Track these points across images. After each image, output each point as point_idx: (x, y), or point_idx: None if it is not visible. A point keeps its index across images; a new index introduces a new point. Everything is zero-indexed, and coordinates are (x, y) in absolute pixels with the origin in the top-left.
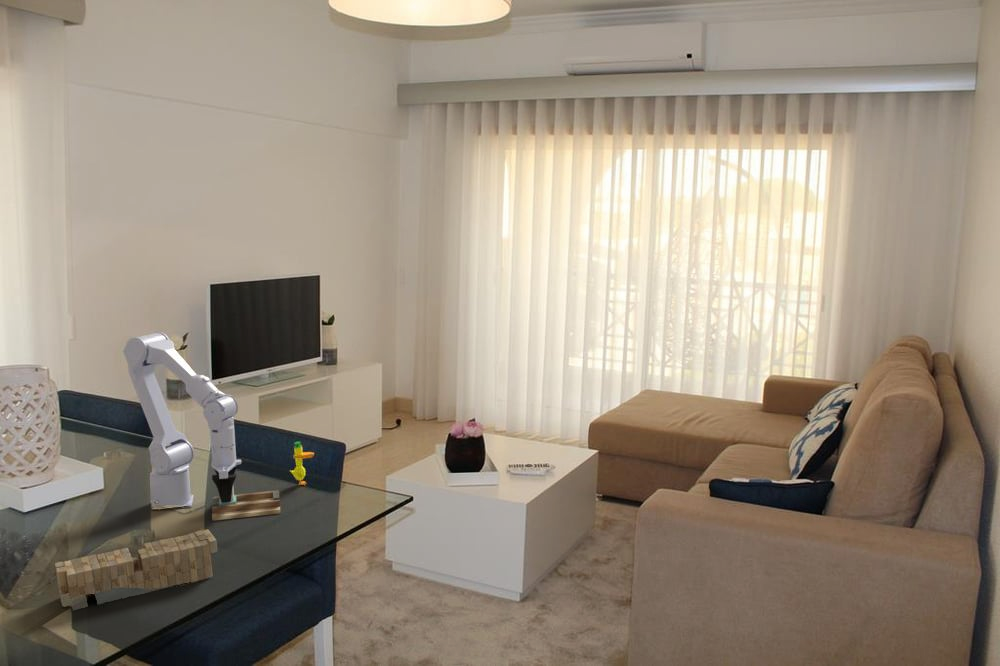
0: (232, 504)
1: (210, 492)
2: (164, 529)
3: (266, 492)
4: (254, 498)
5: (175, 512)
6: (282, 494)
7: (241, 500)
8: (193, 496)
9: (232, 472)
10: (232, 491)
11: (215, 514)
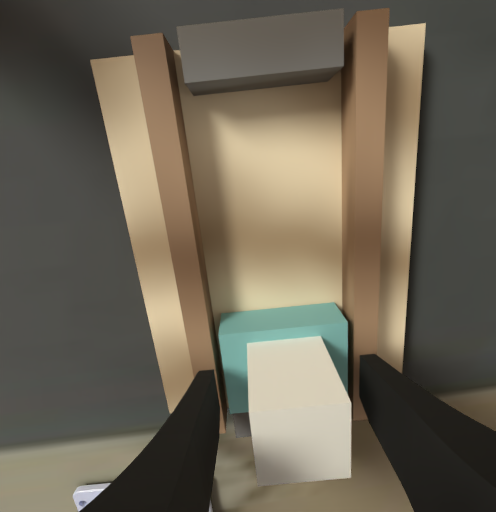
0: (355, 332)
1: (18, 434)
2: None
3: (169, 141)
4: (198, 221)
5: (250, 507)
6: (51, 47)
7: (209, 291)
8: (88, 487)
9: (178, 508)
10: (338, 380)
11: None
